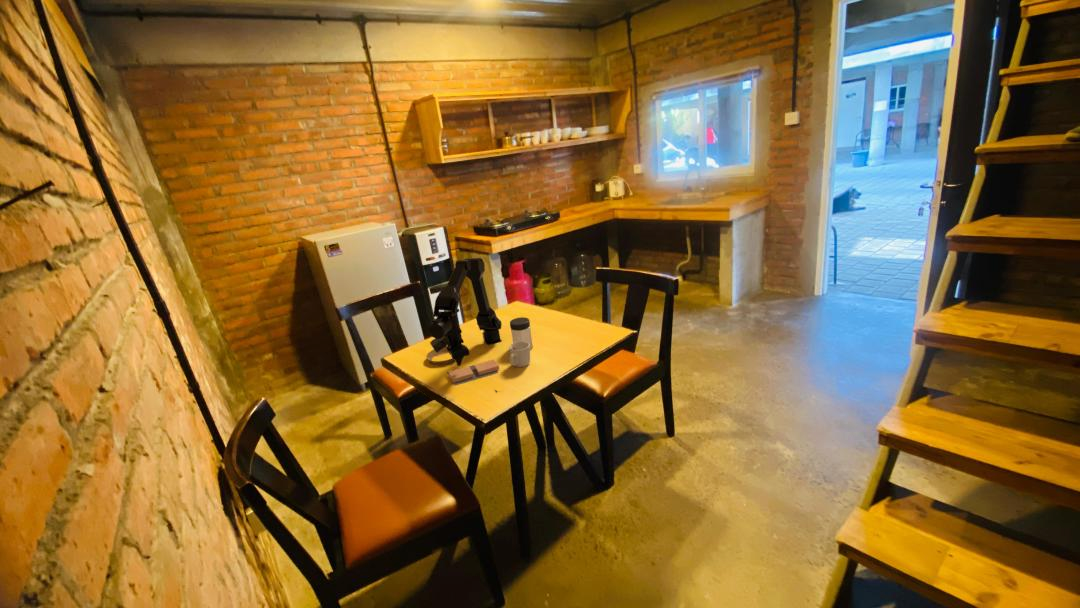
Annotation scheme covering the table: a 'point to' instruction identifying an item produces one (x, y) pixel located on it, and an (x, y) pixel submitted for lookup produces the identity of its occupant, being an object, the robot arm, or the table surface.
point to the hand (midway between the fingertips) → (459, 365)
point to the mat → (476, 376)
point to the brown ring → (434, 354)
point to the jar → (521, 330)
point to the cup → (520, 354)
